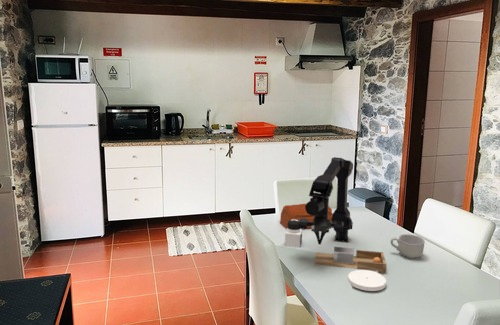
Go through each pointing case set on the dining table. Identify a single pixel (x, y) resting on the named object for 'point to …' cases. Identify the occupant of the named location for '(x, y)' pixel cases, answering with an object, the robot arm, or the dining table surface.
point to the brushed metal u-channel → (343, 255)
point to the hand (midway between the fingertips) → (319, 244)
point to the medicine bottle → (293, 234)
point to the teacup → (409, 245)
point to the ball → (376, 260)
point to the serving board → (355, 261)
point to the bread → (298, 214)
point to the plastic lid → (367, 280)
